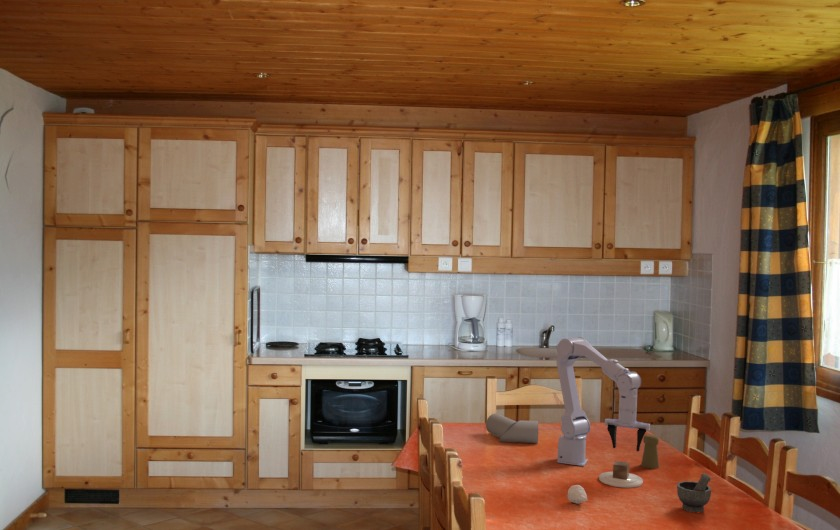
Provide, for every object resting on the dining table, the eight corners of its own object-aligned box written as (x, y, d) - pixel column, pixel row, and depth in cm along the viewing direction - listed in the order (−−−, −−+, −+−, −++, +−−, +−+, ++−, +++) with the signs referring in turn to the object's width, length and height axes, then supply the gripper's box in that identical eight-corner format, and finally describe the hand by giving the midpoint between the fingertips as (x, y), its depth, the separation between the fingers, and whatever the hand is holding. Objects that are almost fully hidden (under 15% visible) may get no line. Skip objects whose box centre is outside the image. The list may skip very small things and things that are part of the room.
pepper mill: (659, 469, 270) (661, 437, 270) (641, 467, 271) (643, 436, 271) (658, 464, 276) (659, 433, 275) (640, 462, 277) (641, 432, 277)
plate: (595, 483, 252) (595, 480, 252) (602, 471, 265) (602, 468, 265) (639, 490, 247) (640, 486, 247) (645, 477, 260) (645, 474, 260)
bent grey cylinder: (485, 441, 296) (538, 444, 294) (486, 413, 298) (538, 415, 296) (485, 439, 313) (535, 442, 312) (486, 413, 315) (535, 415, 314)
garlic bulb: (577, 509, 228) (578, 490, 228) (565, 502, 234) (566, 484, 234) (592, 507, 231) (593, 488, 230) (580, 500, 236) (581, 482, 236)
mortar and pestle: (669, 505, 234) (670, 465, 233) (695, 502, 237) (696, 463, 236) (693, 518, 223) (695, 477, 223) (720, 515, 226) (722, 474, 226)
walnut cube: (612, 477, 255) (613, 464, 255) (615, 474, 259) (615, 460, 259) (626, 479, 253) (627, 466, 253) (628, 476, 257) (629, 462, 257)
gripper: (603, 408, 258) (602, 448, 259) (648, 413, 252) (647, 455, 253) (607, 404, 264) (605, 443, 265) (651, 409, 259) (649, 449, 259)
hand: (626, 449), depth 259 cm, fingers open, 7 cm apart
